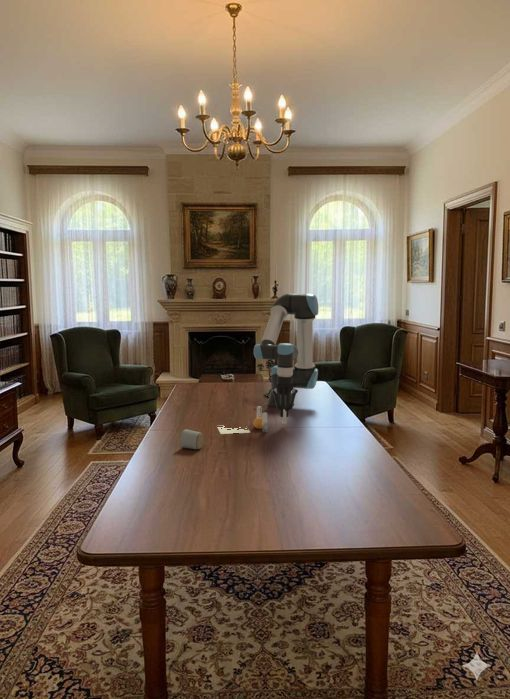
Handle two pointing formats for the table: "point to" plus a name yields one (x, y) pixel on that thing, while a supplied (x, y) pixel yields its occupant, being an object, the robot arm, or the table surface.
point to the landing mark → (232, 430)
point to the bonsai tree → (267, 370)
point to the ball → (258, 422)
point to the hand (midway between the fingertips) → (283, 423)
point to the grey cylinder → (191, 439)
